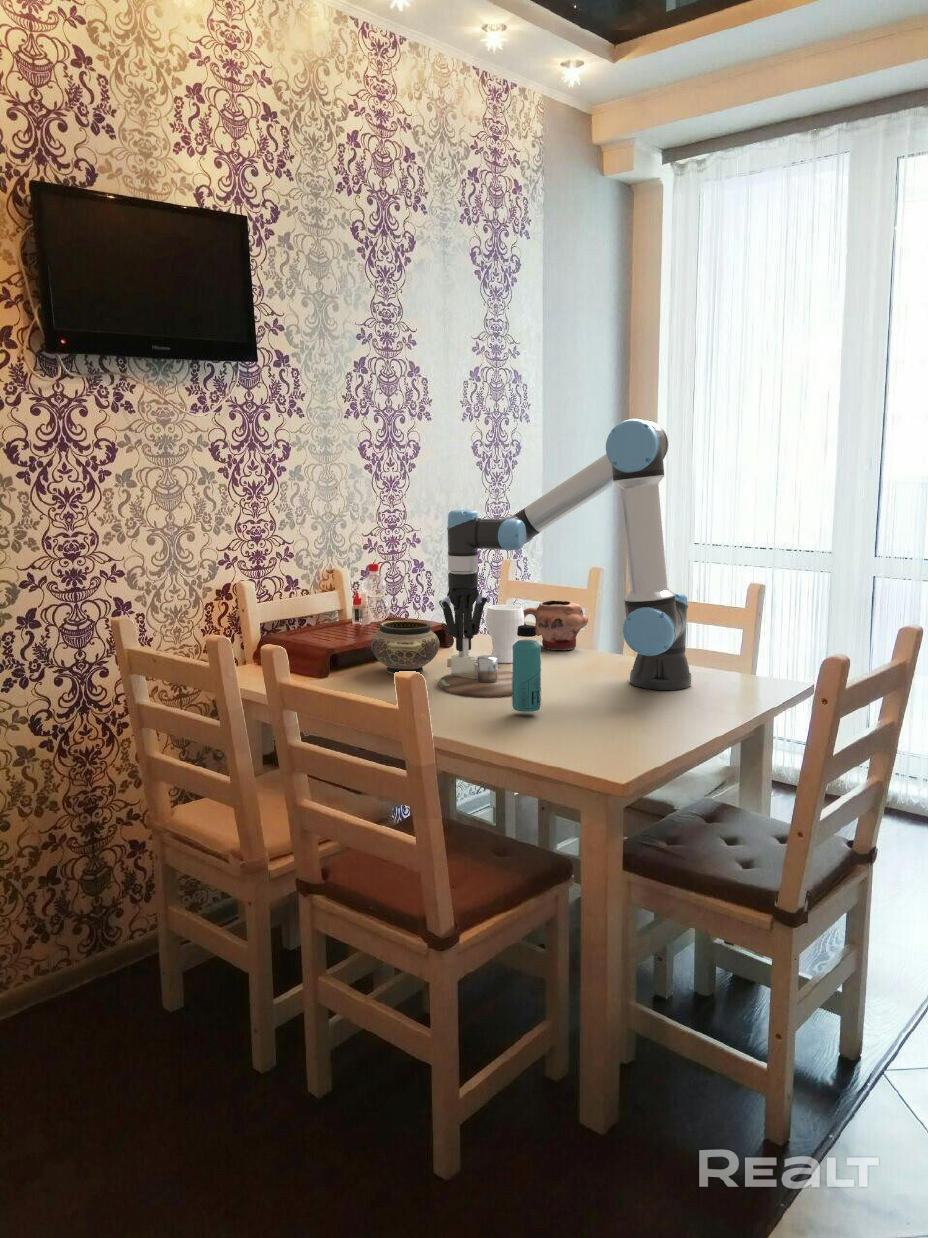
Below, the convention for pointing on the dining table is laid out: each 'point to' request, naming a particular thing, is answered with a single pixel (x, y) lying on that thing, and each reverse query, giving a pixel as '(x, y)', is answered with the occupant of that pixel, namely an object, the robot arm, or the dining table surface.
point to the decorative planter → (558, 623)
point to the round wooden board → (478, 685)
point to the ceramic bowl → (405, 645)
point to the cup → (504, 629)
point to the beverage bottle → (526, 671)
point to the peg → (474, 667)
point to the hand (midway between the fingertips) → (463, 662)
